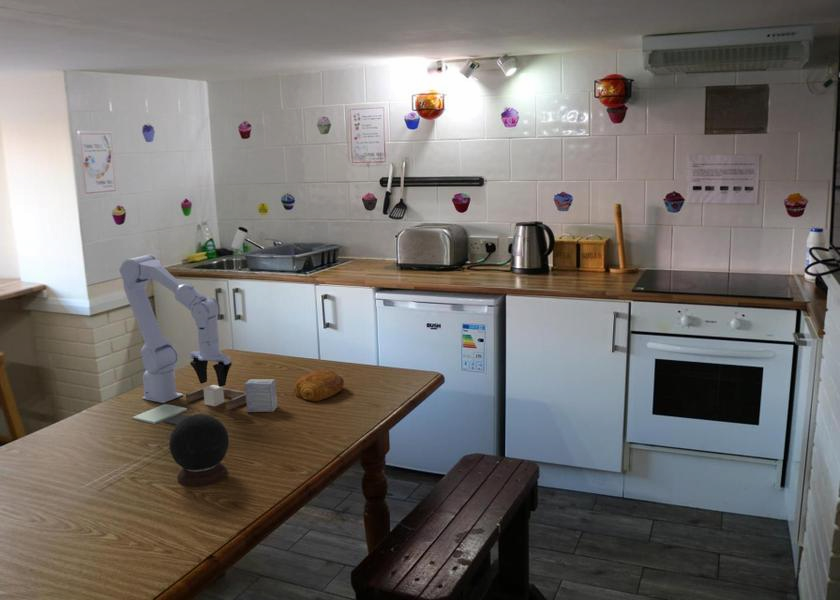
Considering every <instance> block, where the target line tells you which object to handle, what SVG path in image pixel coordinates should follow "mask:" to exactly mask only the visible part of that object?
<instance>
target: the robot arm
mask: <svg viewBox="0 0 840 600" xmlns="http://www.w3.org/2000/svg"><path fill="white" fill-rule="evenodd" d="M119 273H120V275H121V278H122V283H123V290H124V292H125V295H126V298H127V300H128V303H129V305H130V308H131V311H132V313H133V315H134V318H135V321H136V323H137V327H138V328H139V332H140V335H141V336H142V340H143V342H144V345H143V346H142V348H141V349H140V355H141V356H142V357H141V358H142V360H141V361H142V362H141V363H142V366H143V368H144V369H145V370H144V372H143V375H142V384H143V385H142V386H143V392H144V393H143V394H144V396H142V399H143V400H147V401H151V402H157V403H161V404H166V403H167V402H170V401H172V400H174V399H176V398H180V397H182V396H183V395H184V394H183V393H180V392H177V385H176V375H175V367H176V363H177V362H178V360H179V354H178V351H177V350H176V348H175V347H174V346H173V344H172V342H171V340H170V339H168V338H166V337H164V335H163V333H162V330H161V328H160V325H159V323H158V321H157V318H156V314H155V313H154V310H153V307H152V305H151V302H150V300H149V297H148V294H147V292H146V286H147V284H148V282H149V281H150V280H155V281H156V282H157V283H159V284H160V285H161V286H163V287H164V288H166V289H167V290H169V291H171V292H172V293H173V294H174V299H175V300H176V301H177V302H179V303H180V304H181V305H182V306H184V307H185V308H186V309H187V310H189V311H190V314H191V316H192V318H193V320H194V321H195V325H196V328H197V329H196V330H197V337H198V351H194V350H193V351H191V352H189V357H190V360H191V361H190V362H189V364H190V366H191V367H192V368H193V370H194V372H195V373H196V376H197V378H198V381H199V384H201V385H203V384H204V383H207V382H208V363H209V362H213V363H214V362H215V363H216V364H213V365H212V367H213V369H214V371H215V373H216V379H217V386H219V387H222V386H223V387H224V386H226V383H227V379H228V378H227V377H228V374H229V371H230V368H231V366H232V364H233V363H232V359H231V357H232V356H229V355H227V354H224V353H222V352H220V351H221V350H220V340H219V330H218V328H219V327H218V318H217V317H218V315H219V314H220V312H221V307H220V304H219V303H218V301H217V300H216V299H215V298H213V297H207V296H205V295H204V294H202V293H201V292H200V291H198V290H197V289H196V288H195V286H194V285H193V284H189V283H182V282H181V281H180V280H178V279H177V278H176V277H175V276H174V275H173V274H171V273H170V272H169V271H168V270H167V269H166V268H165V267H163V265H162V262H161V260H159V259H157V258H156V257H155V256H154V255H152V254H149V253H148V254H144V255H142V256H137V257H133V258H127V259H124V260H123V261H122V264H121V265H120V268H119Z"/></svg>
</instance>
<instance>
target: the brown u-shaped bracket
mask: <svg viewBox="0 0 840 600" xmlns="http://www.w3.org/2000/svg"><path fill="white" fill-rule="evenodd" d="M211 385H212V384H211ZM211 385H210V384H209V385H206V386H204V387H201V388H198V389H196V390H194V391H191V392H188V393H185V397H186V403H187V404H189V403H191V402H194V401H197V400H199V399H201V398H204V391H203V389H204V388H206V387H209V386H211ZM223 393H224V398H226V399H227V398H228V400H226V401H224V403H225V404H224V405H225V411H228V412H229V411H232V410H233V409H235V408H237V407H239V406H242V405H244V404H246V393H245V390H244V391H243V390H237V389H232V388H228V387H227V388H226V387H223Z"/></svg>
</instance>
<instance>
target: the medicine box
mask: <svg viewBox="0 0 840 600" xmlns="http://www.w3.org/2000/svg"><path fill="white" fill-rule="evenodd" d="M276 385H277V384H276V379H274V378H273V379H270V378H266V379H265V378H264V379H263V378H261V379H259V378H258V379H257V378H256V379H255V378H254V379H252V378H251V379H249V380H247V381H246V383H245V384H244V389H245V390H244V392H245V393H246V403H245V404H246V411H247V412H248V413H252V412H253V413H260V412H261V413H265V412H267V413H269V412H270V413H273V412H274V411H275V410H276V409H277V408H278V399H277V398H278V396H277V387H276Z"/></svg>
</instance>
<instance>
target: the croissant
mask: <svg viewBox="0 0 840 600" xmlns="http://www.w3.org/2000/svg"><path fill="white" fill-rule="evenodd" d="M344 385H345V381H344V378H343V377H342V376H341V375H339V374H338V373H336V372H335V371H333V370H323V369H322V370H321V369H320V370H315V371H312V372H309V373H308V374H304V375H303V376H301V377H299V379H297V380H296V382H295V385H294V390H293V391H294V392H293V393H294V394H295V396H296V397H298V398H299V399H303V400H308V401H312V402H319V401H323V400H325V399H327V398H329V397H330V398H331V397H332V396H334V395H336V394H338V393H339V392H340V391H342V389H343V387H344Z"/></svg>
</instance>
